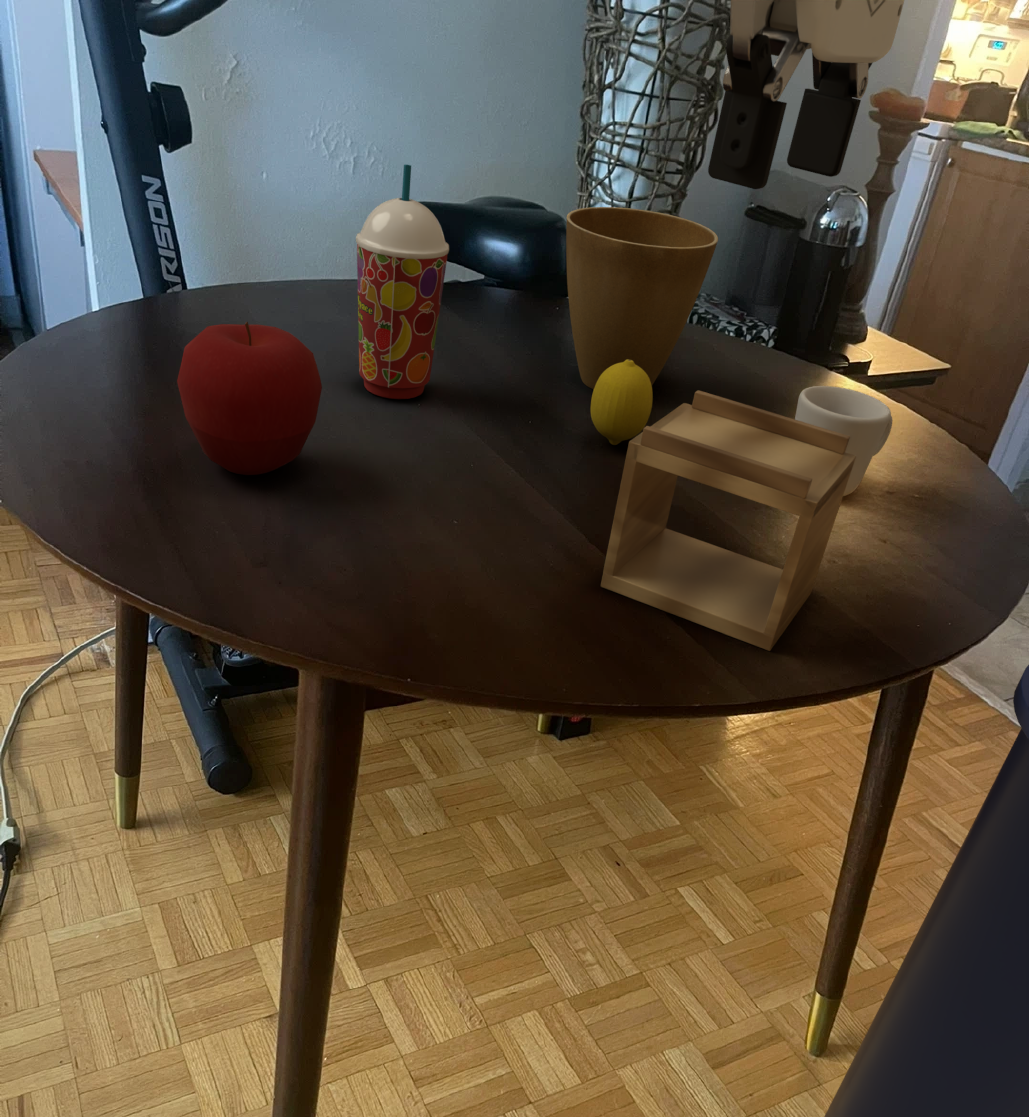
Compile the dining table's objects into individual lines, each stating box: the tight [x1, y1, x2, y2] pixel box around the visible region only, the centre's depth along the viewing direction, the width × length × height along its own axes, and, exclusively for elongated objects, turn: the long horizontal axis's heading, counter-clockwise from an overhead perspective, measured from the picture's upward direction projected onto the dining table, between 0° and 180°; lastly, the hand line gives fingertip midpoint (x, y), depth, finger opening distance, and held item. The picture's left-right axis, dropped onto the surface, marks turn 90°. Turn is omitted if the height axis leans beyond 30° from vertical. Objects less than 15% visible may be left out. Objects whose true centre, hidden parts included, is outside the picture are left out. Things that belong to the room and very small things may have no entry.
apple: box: [176, 321, 323, 476], centre depth 83 cm, size 11×11×12 cm
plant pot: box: [565, 206, 719, 390], centre depth 108 cm, size 15×15×16 cm
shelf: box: [600, 390, 856, 652], centre depth 75 cm, size 13×10×12 cm
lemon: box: [590, 360, 654, 446], centre depth 97 cm, size 6×6×8 cm
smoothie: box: [355, 163, 450, 400], centre depth 98 cm, size 8×8×20 cm
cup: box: [794, 385, 894, 497], centre depth 96 cm, size 11×8×8 cm
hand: (775, 176), depth 59 cm, fingers open, 9 cm apart
